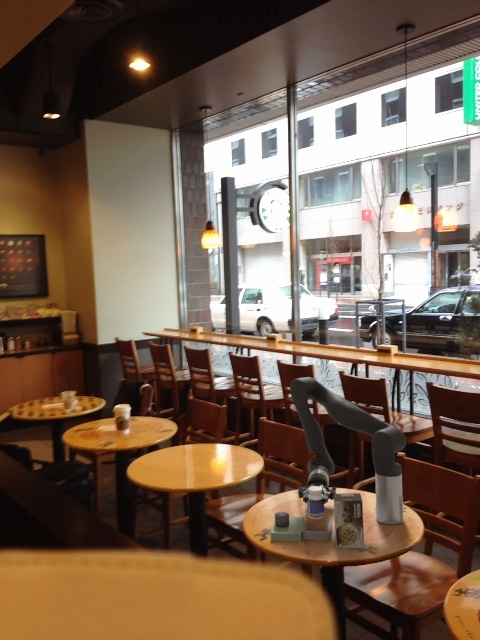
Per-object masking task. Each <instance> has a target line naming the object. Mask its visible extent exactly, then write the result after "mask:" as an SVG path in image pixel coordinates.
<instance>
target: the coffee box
mask: <svg viewBox="0 0 480 640" xmlns="http://www.w3.org/2000/svg"><path fill="white" fill-rule="evenodd" d="M363 508H364V507H363V498H362V494H361V493H360V492H359V493H355V492H354V493H336V494H334V499H333V509H334V510H333V512H334V513H333V515H334V541H335V547H336V549H365V533H364V510H363Z"/></svg>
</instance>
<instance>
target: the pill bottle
mask: <svg viewBox="0 0 480 640" xmlns="http://www.w3.org/2000/svg"><path fill="white" fill-rule="evenodd" d="M308 492H309V494H308V495H307V503H306V504H307V517H308V518H310V519H312V520H321V519H323V518H324V517H325V504H323V497H324V496H323V494H322V488H321V487H319V486H312V487H309V489H308Z"/></svg>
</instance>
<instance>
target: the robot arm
mask: <svg viewBox="0 0 480 640" xmlns="http://www.w3.org/2000/svg"><path fill="white" fill-rule="evenodd" d="M289 394H290V396H291V399H292V401H293V404H294V407H295V410H296V412H297V415H298V417H299V420H300V422H301V423H300V424H301V425H302V426H301V427H302V429H303V432H304V436H305V441H306V446H307V450H308V453H311V454H320V455H321V456H322V457H319V458H314V459H311V460H309V461H308V463H307V470H308V474H309V476H308V479H307V480H308V481H307V484H306V485H305V487H303V486H302V485H297V494H298V498H299V499H302V501H303V502H304V504H307V495H308V494H309V492H308V489H309V487H312V486H319V487H321V488H322V494H323V496H324V497H323V504H324V505H326V504H327V503H328V501H329V500H330V501H331V500H332V501H334V494H337V487H336V486H332V487H331V488H330V487H329V485H330V481H329V478H330V476H332V475H333V474H334V472H335V471H336V466H335V463H334V461H333V459H332V457H331V456H330V454H329V451H328V448H327V446H326V443H325V439H324V433H323V430H322V428H321V426H320V423H319V422H318V421H317V419H316V418H315V416H314V415H313V413H312V411H311V408H310V406H309V402H308V401H309V400H310V401H313V402H316V403H317V404H319V405H321V406H322V407H324V409H325V411H326V412H327V415H328V416H329V418H331V419H332V420H333V421H335V422H336V423H337V424H339V425H341V426H342V427H344V428H347V429H349V430H351V431H355V432H360V433H363V434H366V435H368V436H370V437H372V438H371V455H372V457H371V458H372V464H373V466H374V473H375V508H376V509H375V513H376V514H375V515H376V516H375V517H376V521H378V522H379V523H381V524H384V525H398V524H404V497H403V472H402V471H403V470H402V469H403V468H402V465H401V464H400V463H398V462H396V456H395V454H396V453H399V452H401V451H403V449H405V447H406V445H407V437H406V436H405V434H404V432H403V431H402V430H401V429H399V427H397V426H396V425H395V426H394V425H392V424H390V423H388V422H386V421H383V420H382V419H379V418H377V417H376V416H373V415H372V413H371V414H370V413H369V412H367V411H365V410H364V409H362V408H360V407H359V406H357V405H356V404H354V403H353V402H350V401H349V400H347V399H345V398H343V397H342V396H340V395H339V394H337V393H335V392H333V391H332V390H330V389H329V388H327V387H326V386H324V385H323V383H321V382H320V381H318V380H317V379H316V378H313V377H311V376H307V377H299V378H298V377H297V378H294V379H293V380H292V381H290V385H289Z"/></svg>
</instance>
